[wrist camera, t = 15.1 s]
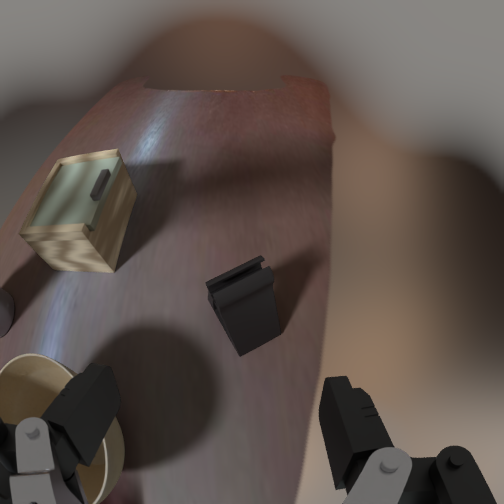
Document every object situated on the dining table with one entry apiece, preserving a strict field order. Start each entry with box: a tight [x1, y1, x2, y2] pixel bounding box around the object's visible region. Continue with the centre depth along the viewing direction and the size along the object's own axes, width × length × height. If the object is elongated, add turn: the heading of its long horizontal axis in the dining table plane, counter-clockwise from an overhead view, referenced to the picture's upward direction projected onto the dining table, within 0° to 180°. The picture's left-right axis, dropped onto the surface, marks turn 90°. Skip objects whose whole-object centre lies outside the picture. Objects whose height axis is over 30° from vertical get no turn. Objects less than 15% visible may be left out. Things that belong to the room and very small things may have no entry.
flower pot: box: [0, 354, 125, 504], centre depth 22 cm, size 18×18×12 cm
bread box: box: [19, 149, 137, 273], centre depth 39 cm, size 14×16×12 cm
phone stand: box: [205, 256, 281, 357], centre depth 32 cm, size 9×6×12 cm, turn 29°
